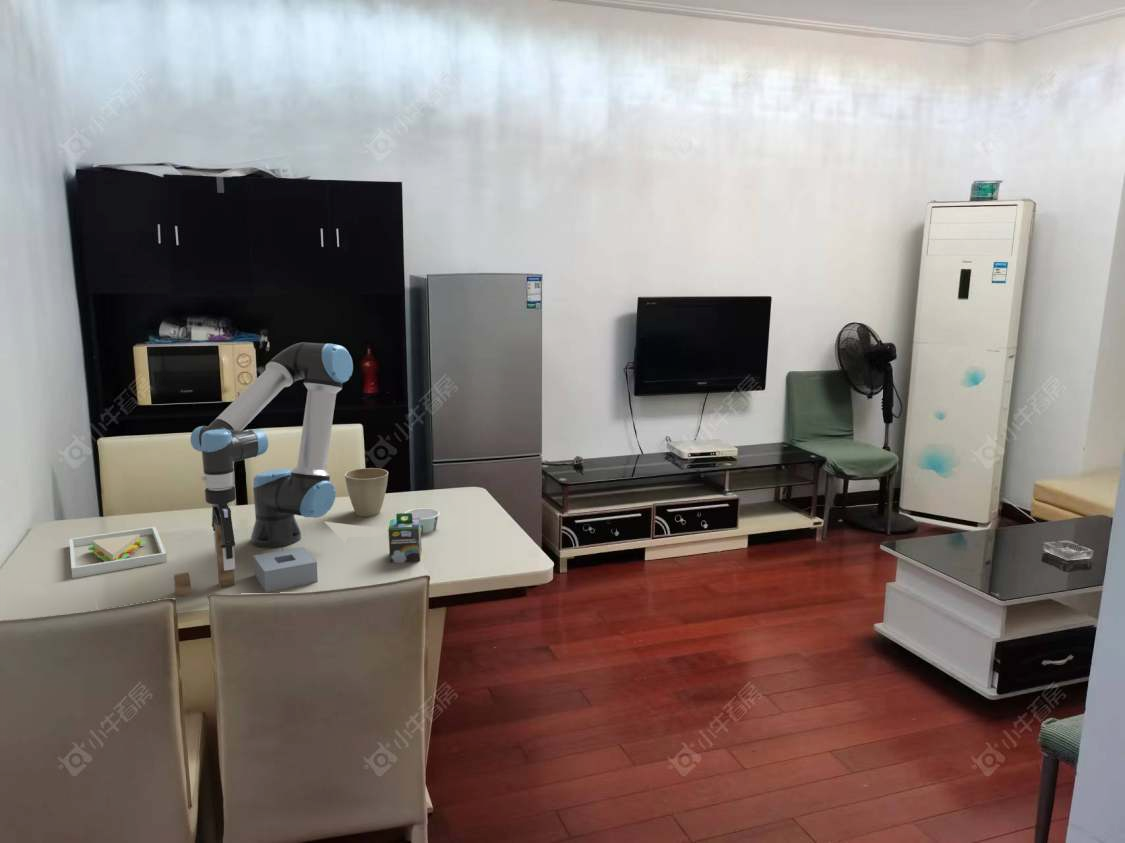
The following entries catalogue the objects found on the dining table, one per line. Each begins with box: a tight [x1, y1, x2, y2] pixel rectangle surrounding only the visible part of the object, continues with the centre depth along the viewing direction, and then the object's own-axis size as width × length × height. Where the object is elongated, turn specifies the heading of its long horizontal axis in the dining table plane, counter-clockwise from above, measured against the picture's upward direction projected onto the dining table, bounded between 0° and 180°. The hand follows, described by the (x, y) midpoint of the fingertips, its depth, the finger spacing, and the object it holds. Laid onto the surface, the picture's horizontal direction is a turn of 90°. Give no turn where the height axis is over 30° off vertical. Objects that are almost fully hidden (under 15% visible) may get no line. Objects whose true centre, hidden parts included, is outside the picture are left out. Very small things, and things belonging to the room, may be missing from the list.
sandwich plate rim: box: [68, 526, 168, 579], centre depth 241 cm, size 29×24×3 cm
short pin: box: [173, 572, 192, 597], centre depth 214 cm, size 4×4×5 cm
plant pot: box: [344, 467, 389, 518], centre depth 280 cm, size 15×15×16 cm
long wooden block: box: [214, 522, 235, 589], centre depth 218 cm, size 4×4×18 cm
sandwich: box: [88, 534, 148, 562], centre depth 237 cm, size 15×20×5 cm
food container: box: [403, 507, 441, 534], centre depth 265 cm, size 12×12×6 cm
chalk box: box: [387, 512, 423, 564], centre depth 240 cm, size 9×9×15 cm
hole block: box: [253, 546, 319, 593], centre depth 224 cm, size 14×14×6 cm
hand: (225, 561), depth 218 cm, fingers open, 13 cm apart
